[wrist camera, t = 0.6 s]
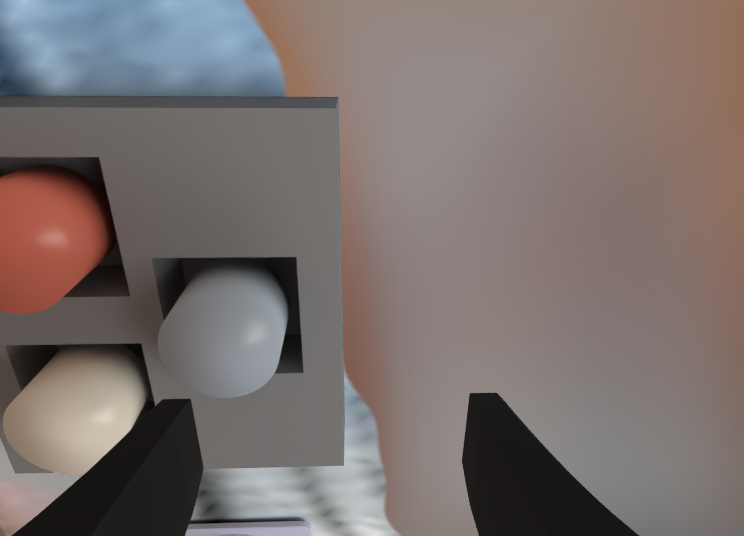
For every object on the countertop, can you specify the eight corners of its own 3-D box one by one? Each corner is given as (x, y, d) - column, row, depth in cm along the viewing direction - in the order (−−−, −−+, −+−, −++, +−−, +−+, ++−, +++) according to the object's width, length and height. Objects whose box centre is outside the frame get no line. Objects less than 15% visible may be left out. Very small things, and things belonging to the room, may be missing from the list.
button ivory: (159, 414, 22) (130, 473, 19) (65, 416, 21) (21, 476, 19) (142, 337, 20) (106, 388, 17) (40, 338, 20) (-13, 390, 17)
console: (344, 417, 24) (343, 465, 22) (53, 423, 24) (15, 473, 21) (338, 97, 18) (336, 108, 15) (-60, 95, 17) (-136, 106, 15)
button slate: (293, 345, 20) (283, 396, 17) (194, 346, 20) (168, 399, 17) (286, 256, 19) (275, 297, 16) (179, 257, 18) (146, 298, 16)
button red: (127, 269, 19) (86, 313, 16) (17, 270, 18) (-44, 314, 16) (103, 163, 17) (52, 190, 14) (-18, 163, 17) (-95, 191, 14)
